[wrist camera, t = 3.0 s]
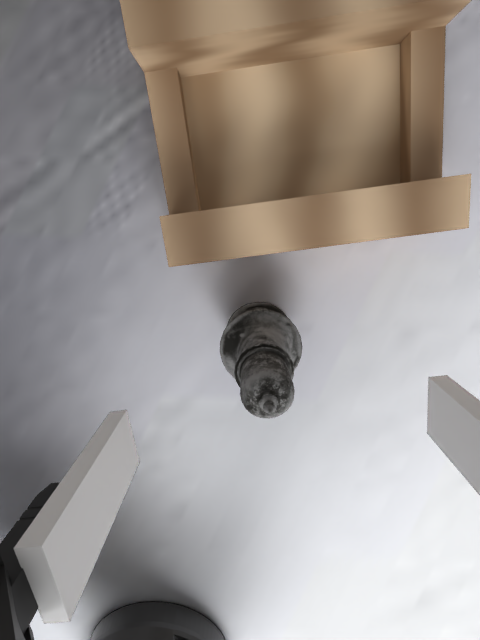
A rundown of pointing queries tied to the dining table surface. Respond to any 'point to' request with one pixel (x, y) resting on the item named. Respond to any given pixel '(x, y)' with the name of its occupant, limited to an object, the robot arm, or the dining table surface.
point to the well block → (296, 122)
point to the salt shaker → (262, 357)
